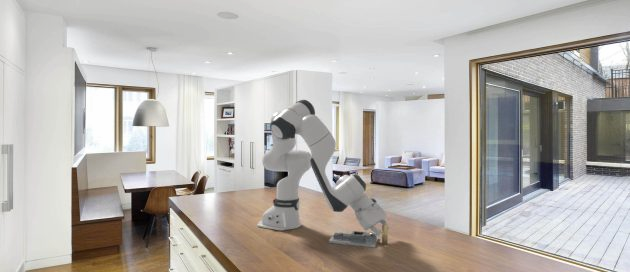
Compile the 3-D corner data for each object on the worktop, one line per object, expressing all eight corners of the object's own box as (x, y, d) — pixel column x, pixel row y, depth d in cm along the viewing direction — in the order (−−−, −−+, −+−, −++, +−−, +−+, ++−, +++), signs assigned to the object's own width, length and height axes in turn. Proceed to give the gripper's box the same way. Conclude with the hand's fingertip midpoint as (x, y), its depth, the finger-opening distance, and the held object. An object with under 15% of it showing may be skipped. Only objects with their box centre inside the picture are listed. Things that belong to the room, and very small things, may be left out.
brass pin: (381, 244, 146) (381, 225, 145) (382, 242, 148) (382, 224, 148) (387, 244, 145) (387, 226, 145) (387, 243, 147) (387, 224, 147)
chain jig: (328, 242, 147) (328, 233, 147) (335, 234, 159) (335, 226, 159) (375, 247, 142) (375, 238, 142) (378, 238, 153) (378, 229, 153)
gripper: (358, 206, 141) (380, 233, 136) (376, 198, 158) (396, 222, 153) (348, 215, 143) (370, 242, 138) (367, 206, 161) (387, 230, 156)
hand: (384, 231), depth 146 cm, fingers open, 8 cm apart
